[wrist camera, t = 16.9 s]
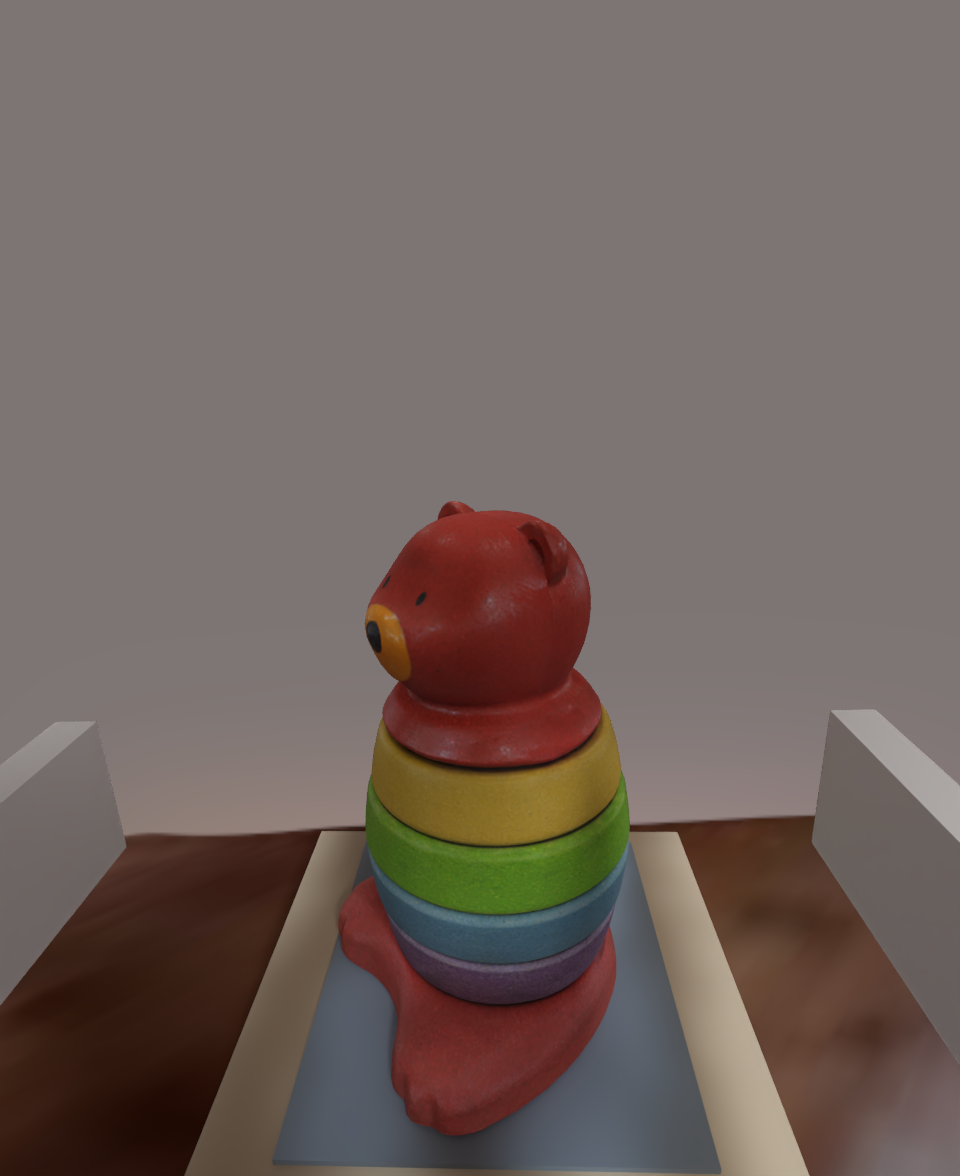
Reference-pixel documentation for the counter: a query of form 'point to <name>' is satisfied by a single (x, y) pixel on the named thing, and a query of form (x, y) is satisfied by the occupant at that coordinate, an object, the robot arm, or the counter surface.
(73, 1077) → the counter surface
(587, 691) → the stacking bear
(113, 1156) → the counter surface
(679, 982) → the plinth
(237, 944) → the counter surface
